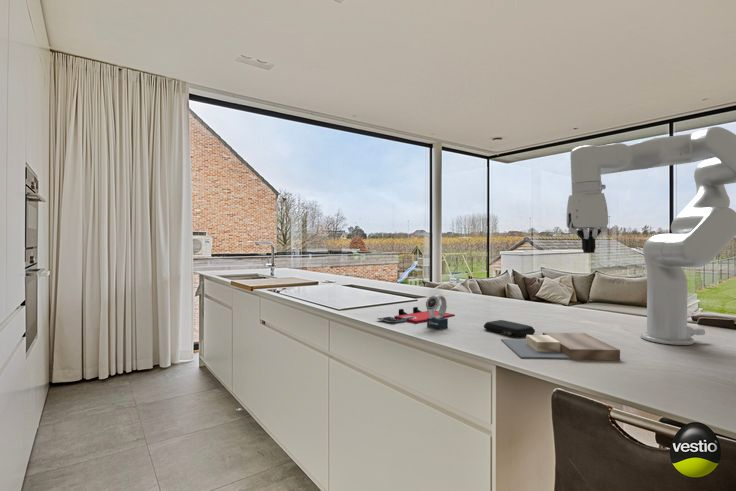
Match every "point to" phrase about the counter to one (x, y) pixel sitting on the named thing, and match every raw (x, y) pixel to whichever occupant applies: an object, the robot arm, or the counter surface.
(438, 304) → the watch
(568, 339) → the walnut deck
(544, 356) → the rubber mat
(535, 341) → the birch tile
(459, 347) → the counter surface
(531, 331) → the carrying case or bag
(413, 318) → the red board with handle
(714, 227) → the robot arm
